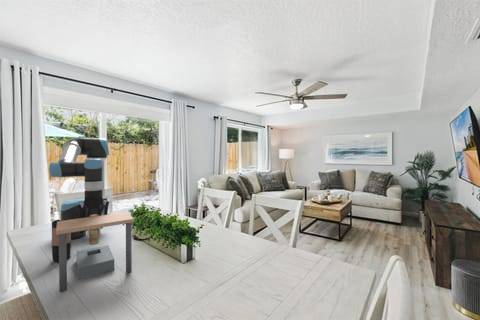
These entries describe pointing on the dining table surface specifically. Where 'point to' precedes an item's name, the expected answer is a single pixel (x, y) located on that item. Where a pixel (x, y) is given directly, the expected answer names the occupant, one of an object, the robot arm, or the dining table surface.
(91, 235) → the oak peg
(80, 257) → the socket board
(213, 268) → the dining table surface
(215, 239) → the dining table surface
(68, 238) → the travel mug
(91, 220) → the wooden side table
